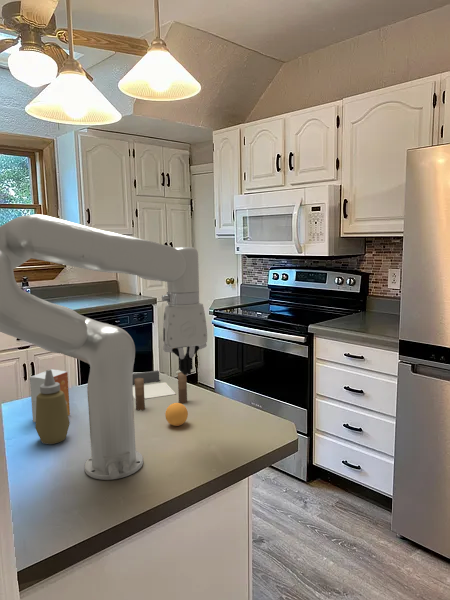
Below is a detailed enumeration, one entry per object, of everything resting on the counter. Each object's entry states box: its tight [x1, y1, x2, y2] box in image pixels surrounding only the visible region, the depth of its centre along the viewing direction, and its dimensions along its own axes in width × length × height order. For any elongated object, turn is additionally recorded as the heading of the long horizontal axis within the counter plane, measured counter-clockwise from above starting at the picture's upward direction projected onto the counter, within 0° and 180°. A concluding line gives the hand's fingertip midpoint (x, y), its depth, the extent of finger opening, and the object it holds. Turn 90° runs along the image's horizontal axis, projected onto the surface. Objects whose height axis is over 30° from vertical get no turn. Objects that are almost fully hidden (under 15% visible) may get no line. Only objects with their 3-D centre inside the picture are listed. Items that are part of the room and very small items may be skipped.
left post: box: [134, 378, 146, 411], centre depth 135 cm, size 3×3×9 cm
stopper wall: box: [133, 370, 160, 386], centre depth 160 cm, size 2×10×4 cm, turn 112°
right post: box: [177, 371, 188, 405], centre depth 140 cm, size 3×3×9 cm
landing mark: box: [133, 381, 176, 401], centre depth 151 cm, size 13×13×1 cm
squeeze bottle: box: [35, 369, 71, 445], centre depth 115 cm, size 8×8×18 cm
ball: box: [164, 402, 189, 427], centre depth 123 cm, size 6×6×6 cm
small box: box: [29, 368, 71, 423], centre depth 129 cm, size 8×6×13 cm
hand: (185, 372), depth 113 cm, fingers closed
